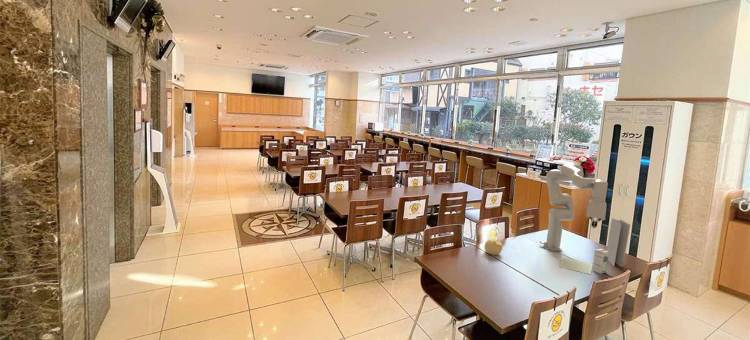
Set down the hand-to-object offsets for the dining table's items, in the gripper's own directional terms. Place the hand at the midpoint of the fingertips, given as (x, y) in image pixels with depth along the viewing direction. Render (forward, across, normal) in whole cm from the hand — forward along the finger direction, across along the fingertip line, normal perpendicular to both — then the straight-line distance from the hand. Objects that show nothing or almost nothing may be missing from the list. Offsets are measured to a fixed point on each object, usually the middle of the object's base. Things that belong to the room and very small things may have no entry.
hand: (593, 227), depth 231 cm
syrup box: (+29, +6, +3) cm, 30 cm away
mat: (+29, -7, +3) cm, 30 cm away
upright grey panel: (+29, +14, +28) cm, 43 cm away
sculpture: (+29, -58, -14) cm, 66 cm away
